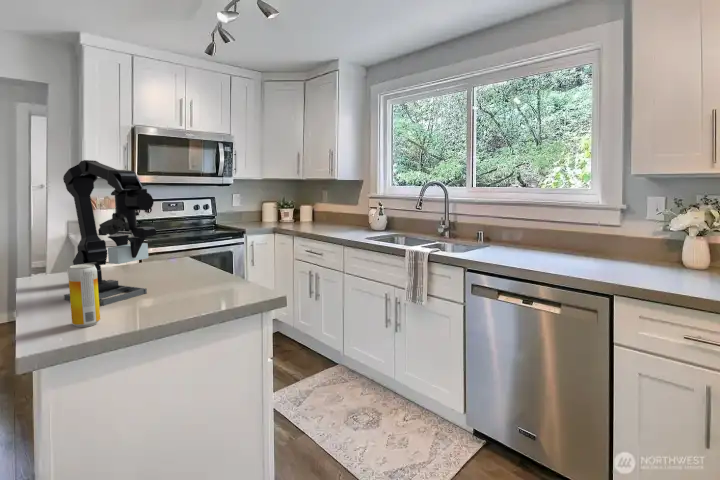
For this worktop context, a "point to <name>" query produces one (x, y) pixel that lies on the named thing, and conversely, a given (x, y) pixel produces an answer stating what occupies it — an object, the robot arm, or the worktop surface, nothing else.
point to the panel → (126, 253)
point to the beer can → (84, 295)
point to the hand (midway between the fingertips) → (129, 257)
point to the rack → (114, 292)
